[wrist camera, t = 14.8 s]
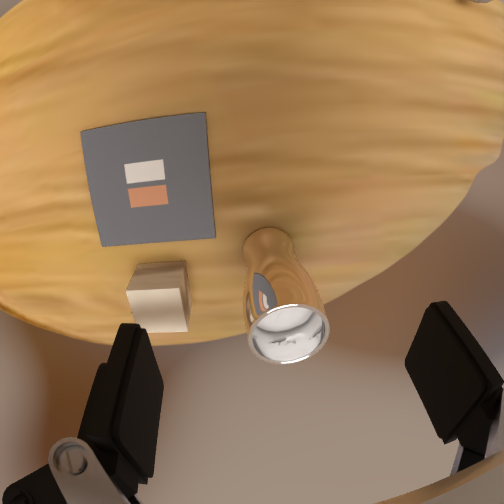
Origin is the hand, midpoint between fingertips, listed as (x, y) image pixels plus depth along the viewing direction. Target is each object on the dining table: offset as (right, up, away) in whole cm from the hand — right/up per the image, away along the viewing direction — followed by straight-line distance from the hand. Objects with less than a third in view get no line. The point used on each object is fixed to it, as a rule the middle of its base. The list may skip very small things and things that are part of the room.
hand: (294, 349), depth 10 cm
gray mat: (-13, +11, +23) cm, 28 cm away
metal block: (-12, -1, +29) cm, 31 cm away
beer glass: (+1, +3, +28) cm, 28 cm away
